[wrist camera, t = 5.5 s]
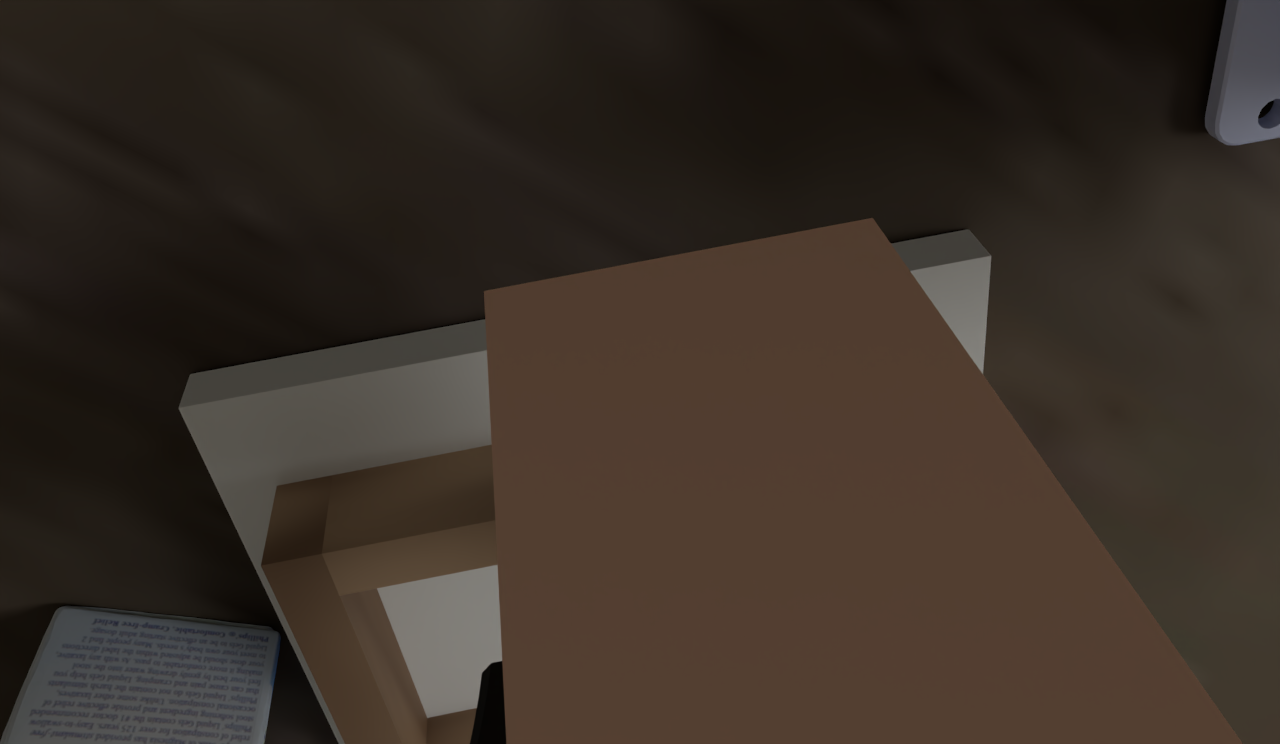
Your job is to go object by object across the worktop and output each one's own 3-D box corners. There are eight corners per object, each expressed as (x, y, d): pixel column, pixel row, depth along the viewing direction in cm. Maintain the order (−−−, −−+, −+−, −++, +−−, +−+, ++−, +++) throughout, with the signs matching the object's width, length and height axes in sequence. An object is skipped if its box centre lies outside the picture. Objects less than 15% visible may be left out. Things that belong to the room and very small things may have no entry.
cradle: (968, 228, 19) (1042, 316, 17) (944, 661, 26) (994, 767, 24) (190, 374, 19) (151, 486, 16) (375, 777, 26) (367, 898, 23)
